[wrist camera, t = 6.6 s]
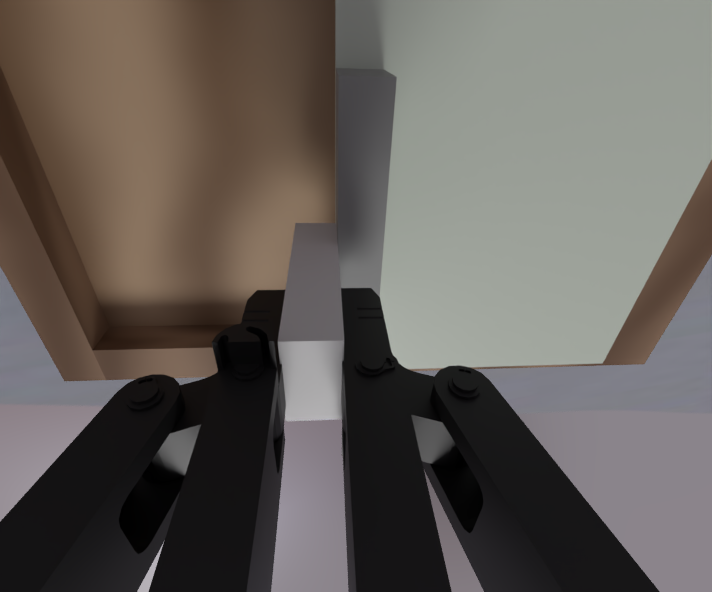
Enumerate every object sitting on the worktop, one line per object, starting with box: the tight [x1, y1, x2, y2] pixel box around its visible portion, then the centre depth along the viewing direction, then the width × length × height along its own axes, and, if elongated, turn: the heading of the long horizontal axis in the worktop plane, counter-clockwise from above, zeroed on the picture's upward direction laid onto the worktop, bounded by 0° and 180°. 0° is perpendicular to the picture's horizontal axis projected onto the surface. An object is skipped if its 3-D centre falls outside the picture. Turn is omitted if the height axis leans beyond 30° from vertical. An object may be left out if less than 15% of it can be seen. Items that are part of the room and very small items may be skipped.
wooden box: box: [0, 0, 712, 381], centre depth 16 cm, size 31×20×2 cm, turn 88°
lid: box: [335, 0, 712, 369], centre depth 14 cm, size 14×18×3 cm
